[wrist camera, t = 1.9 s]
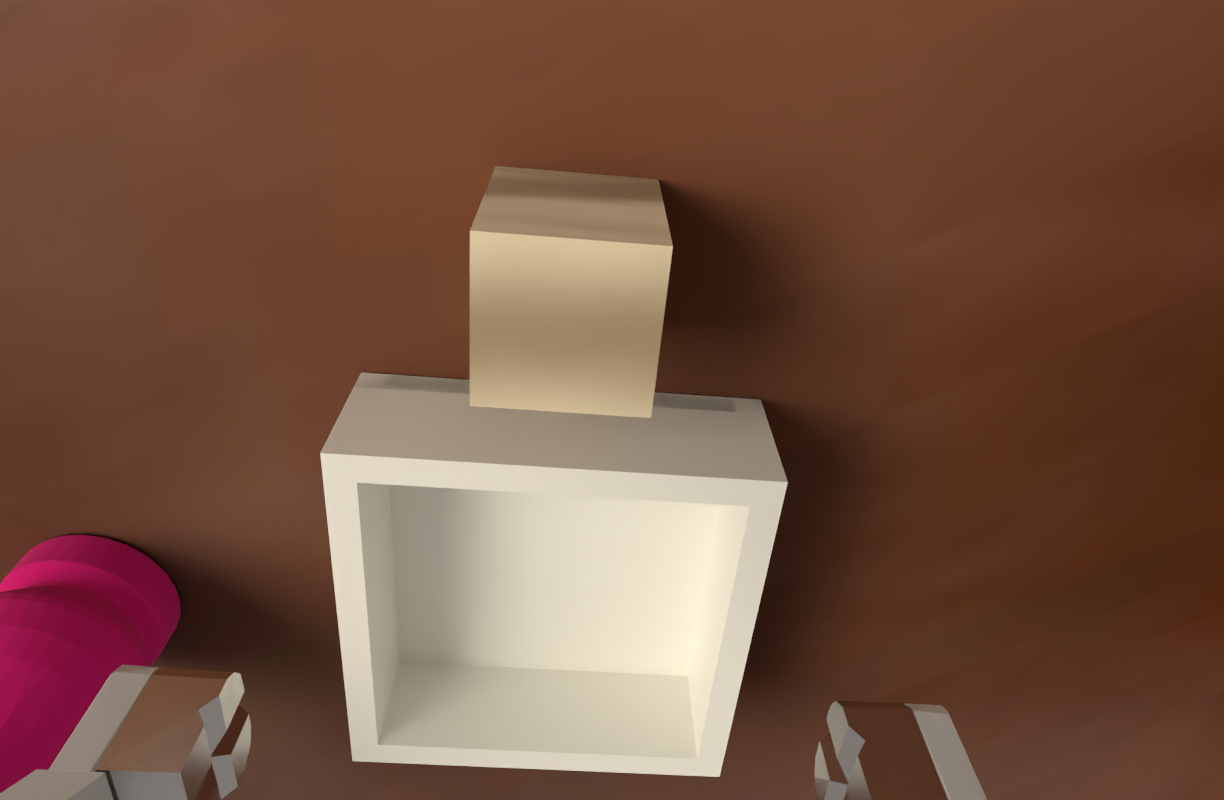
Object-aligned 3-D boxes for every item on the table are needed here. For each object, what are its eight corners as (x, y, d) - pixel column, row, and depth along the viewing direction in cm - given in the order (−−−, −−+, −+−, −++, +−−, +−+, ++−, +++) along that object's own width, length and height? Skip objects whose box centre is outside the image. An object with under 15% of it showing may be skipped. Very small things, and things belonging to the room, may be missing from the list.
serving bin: (361, 372, 29) (320, 452, 25) (760, 399, 30) (787, 482, 26) (381, 659, 36) (352, 761, 32) (705, 675, 37) (719, 777, 33)
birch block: (495, 165, 26) (470, 230, 21) (658, 179, 26) (673, 246, 21) (493, 314, 28) (469, 406, 23) (641, 325, 29) (650, 418, 24)
